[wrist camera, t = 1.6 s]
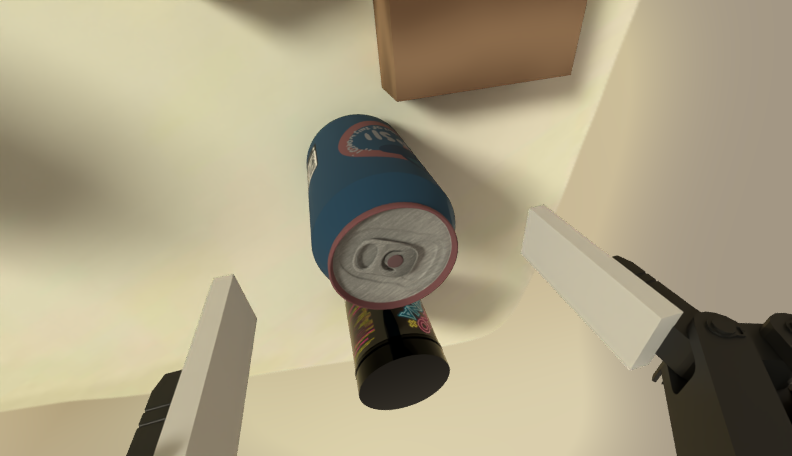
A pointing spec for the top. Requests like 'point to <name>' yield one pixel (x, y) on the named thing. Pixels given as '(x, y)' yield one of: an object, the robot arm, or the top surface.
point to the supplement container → (395, 355)
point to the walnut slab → (473, 43)
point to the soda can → (377, 215)
